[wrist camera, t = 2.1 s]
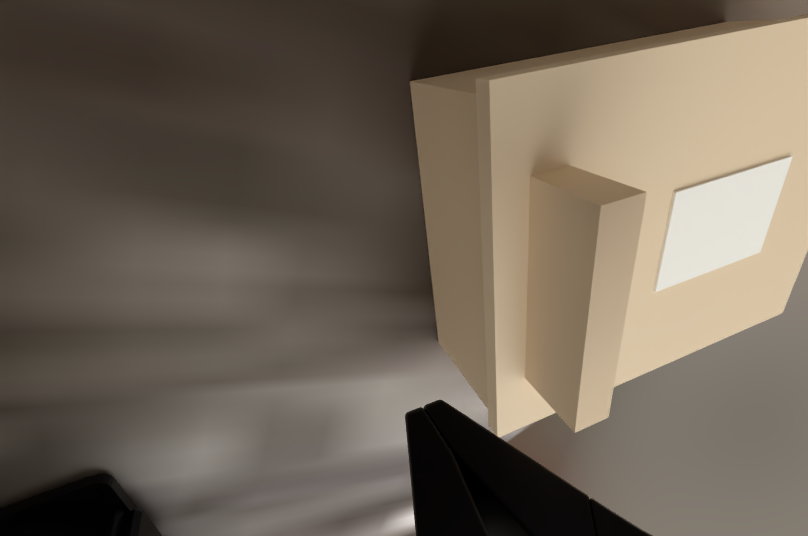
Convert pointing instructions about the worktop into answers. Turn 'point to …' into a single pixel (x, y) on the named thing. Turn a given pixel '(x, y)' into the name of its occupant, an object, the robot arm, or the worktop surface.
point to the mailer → (473, 195)
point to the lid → (637, 211)
